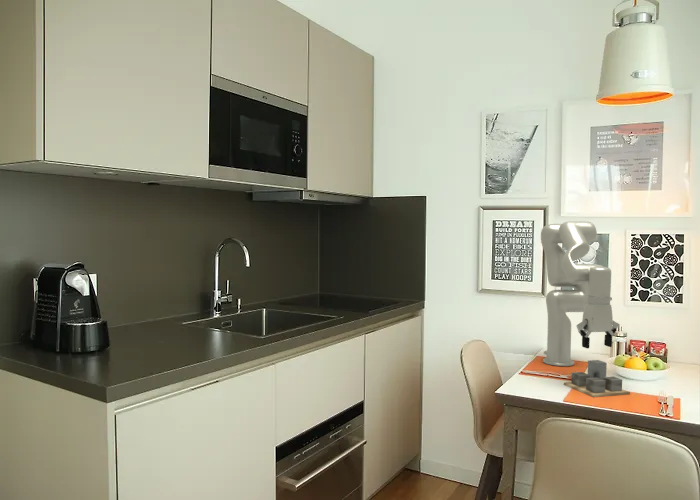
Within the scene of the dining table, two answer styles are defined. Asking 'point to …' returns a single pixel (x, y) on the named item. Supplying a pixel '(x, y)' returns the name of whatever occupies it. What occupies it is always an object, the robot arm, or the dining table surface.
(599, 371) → the dark gray rectangular block
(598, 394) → the board
